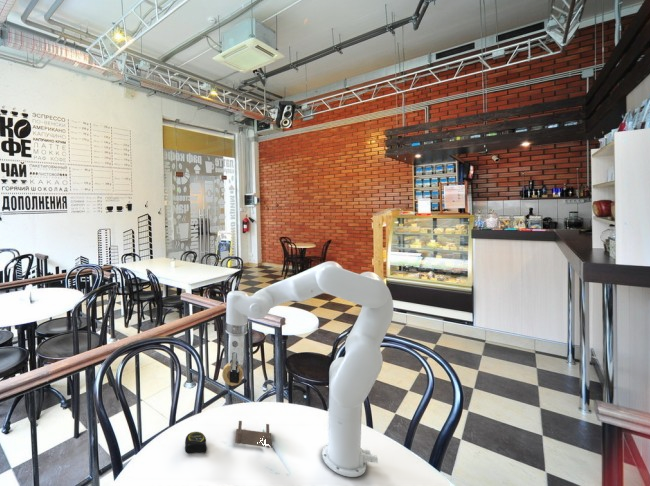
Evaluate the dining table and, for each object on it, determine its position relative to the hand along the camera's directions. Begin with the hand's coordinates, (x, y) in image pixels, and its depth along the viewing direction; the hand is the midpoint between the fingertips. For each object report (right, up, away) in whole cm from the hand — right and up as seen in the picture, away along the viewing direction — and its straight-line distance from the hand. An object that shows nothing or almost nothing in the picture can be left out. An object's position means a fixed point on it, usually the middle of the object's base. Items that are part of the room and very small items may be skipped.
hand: (234, 379), depth 114 cm
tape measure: (-13, -18, -9) cm, 24 cm away
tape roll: (0, -1, 0) cm, 1 cm away
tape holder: (+6, -19, -4) cm, 20 cm away
